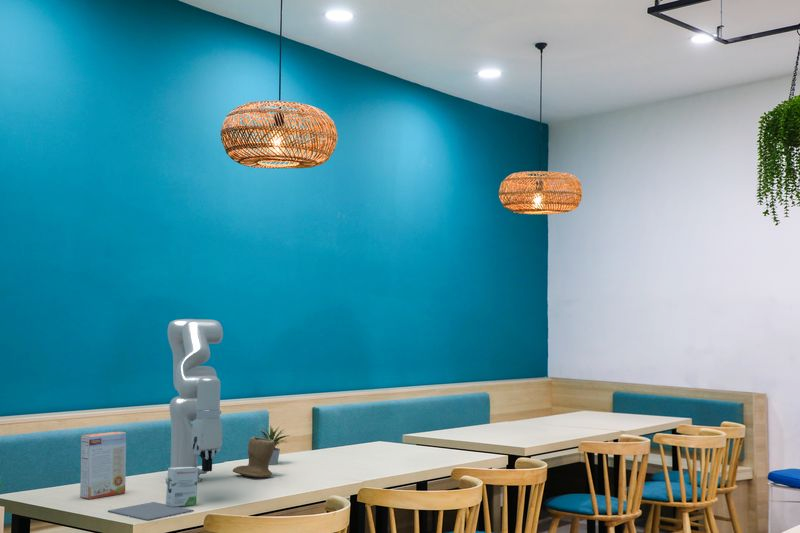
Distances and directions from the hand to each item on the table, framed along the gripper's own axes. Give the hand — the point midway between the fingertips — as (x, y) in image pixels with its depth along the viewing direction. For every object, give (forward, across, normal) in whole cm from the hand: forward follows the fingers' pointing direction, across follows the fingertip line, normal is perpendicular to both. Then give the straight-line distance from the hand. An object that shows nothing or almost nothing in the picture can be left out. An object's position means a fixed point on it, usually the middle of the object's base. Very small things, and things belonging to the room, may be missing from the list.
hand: (206, 470), depth 284 cm
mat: (+10, +22, 0) cm, 24 cm away
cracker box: (+10, +16, -34) cm, 39 cm away
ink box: (+10, +10, 0) cm, 14 cm away
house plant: (+10, -66, -38) cm, 77 cm away
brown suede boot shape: (+10, -43, -22) cm, 49 cm away
